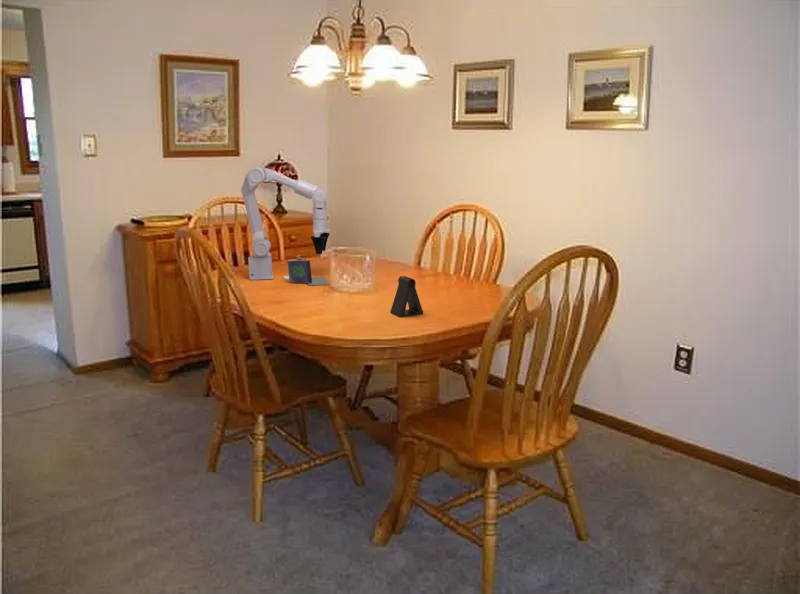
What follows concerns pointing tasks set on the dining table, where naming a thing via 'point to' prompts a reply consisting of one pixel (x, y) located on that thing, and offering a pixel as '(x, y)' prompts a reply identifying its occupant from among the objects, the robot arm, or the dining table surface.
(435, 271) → the dining table surface
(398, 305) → the phone stand
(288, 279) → the napkin
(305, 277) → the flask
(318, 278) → the board
